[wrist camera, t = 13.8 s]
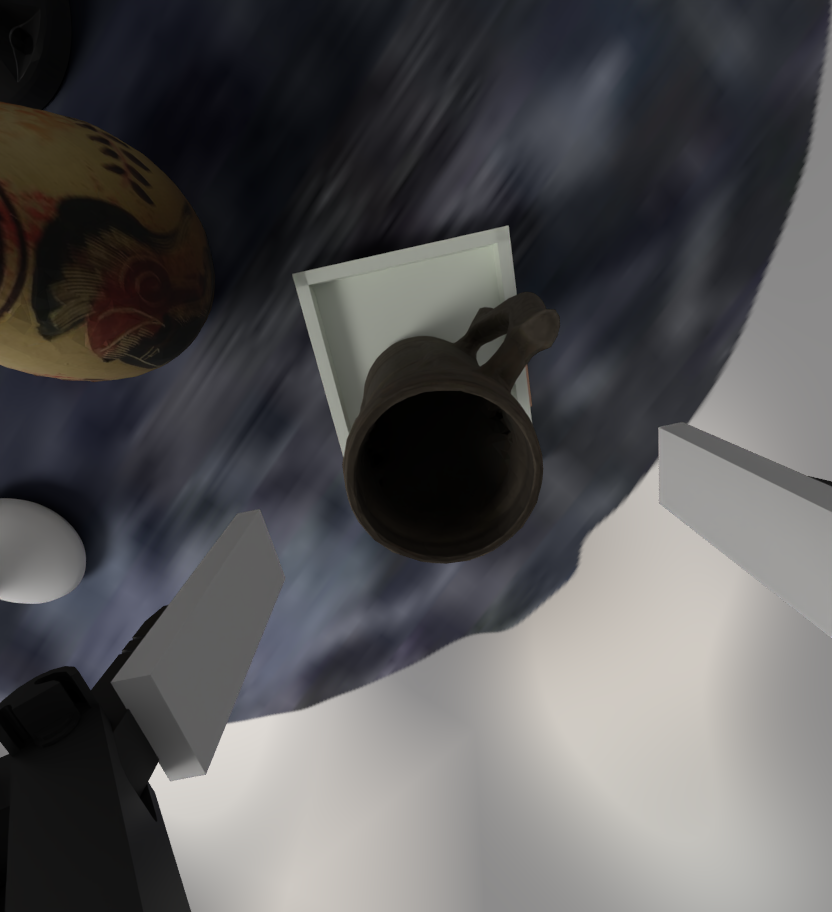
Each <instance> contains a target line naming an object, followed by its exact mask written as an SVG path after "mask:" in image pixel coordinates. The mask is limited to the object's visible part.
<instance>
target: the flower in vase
mask: <svg viewBox="0 0 832 912" xmlns="http://www.w3.org/2000/svg"><path fill="white" fill-rule="evenodd" d="M85 568H86V553H85V549H84V545H83V543H82V540H81V538H80V537H79V535H78V533H77V532H76V531H75V529H74V528H73V527H72V526H71V525H70V524H69V523H68V522H67V521H66V520H65V519H64V518H63V517H62V516H60V515H59V514H57V513H56V512H54V511H52V510H51V509H49V508H47V507H45V506H42V505H40V504H37V503H34V502H31V501H26V500H20V499H11V498H0V599H1V600H5V601H9V602H15V603H28V604H37V603H45V602H49V601H52V600H55V599H57V598H60V597H63V596H65V595H67V594H68V593H70V592H71V591H73V590H74V589H75V588H76V587H77V586H78V585H79V583H80V582H81V580H82V578H83V576H84V573H85Z"/></svg>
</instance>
